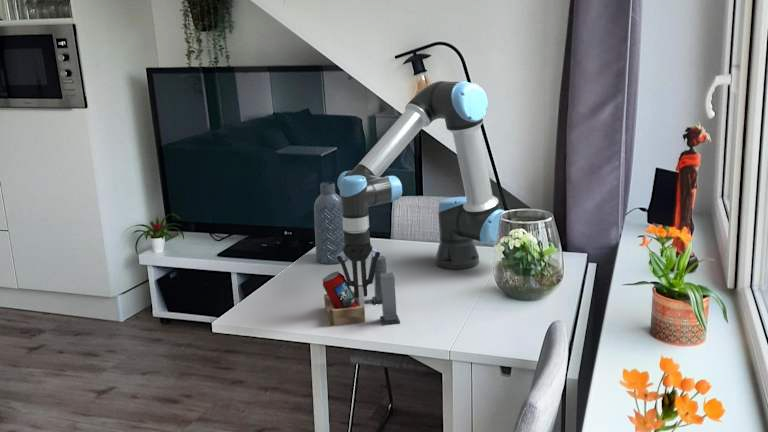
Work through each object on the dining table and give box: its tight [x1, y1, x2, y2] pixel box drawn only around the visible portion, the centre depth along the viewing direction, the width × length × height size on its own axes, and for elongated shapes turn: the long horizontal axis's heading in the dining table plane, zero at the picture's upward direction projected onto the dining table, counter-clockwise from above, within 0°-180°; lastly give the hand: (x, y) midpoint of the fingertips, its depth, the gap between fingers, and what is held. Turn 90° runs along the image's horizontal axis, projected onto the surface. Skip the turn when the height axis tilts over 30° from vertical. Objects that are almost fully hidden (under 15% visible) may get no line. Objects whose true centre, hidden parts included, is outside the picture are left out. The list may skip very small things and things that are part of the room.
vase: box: [313, 181, 350, 265], centre depth 274 cm, size 12×12×28 cm
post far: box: [372, 255, 387, 305], centre depth 232 cm, size 5×5×14 cm
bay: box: [323, 290, 366, 327], centre depth 224 cm, size 10×14×4 cm
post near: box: [379, 272, 401, 326], centre depth 216 cm, size 5×5×14 cm
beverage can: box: [322, 270, 359, 309], centre depth 223 cm, size 7×7×12 cm
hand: (361, 307), depth 224 cm, fingers closed
